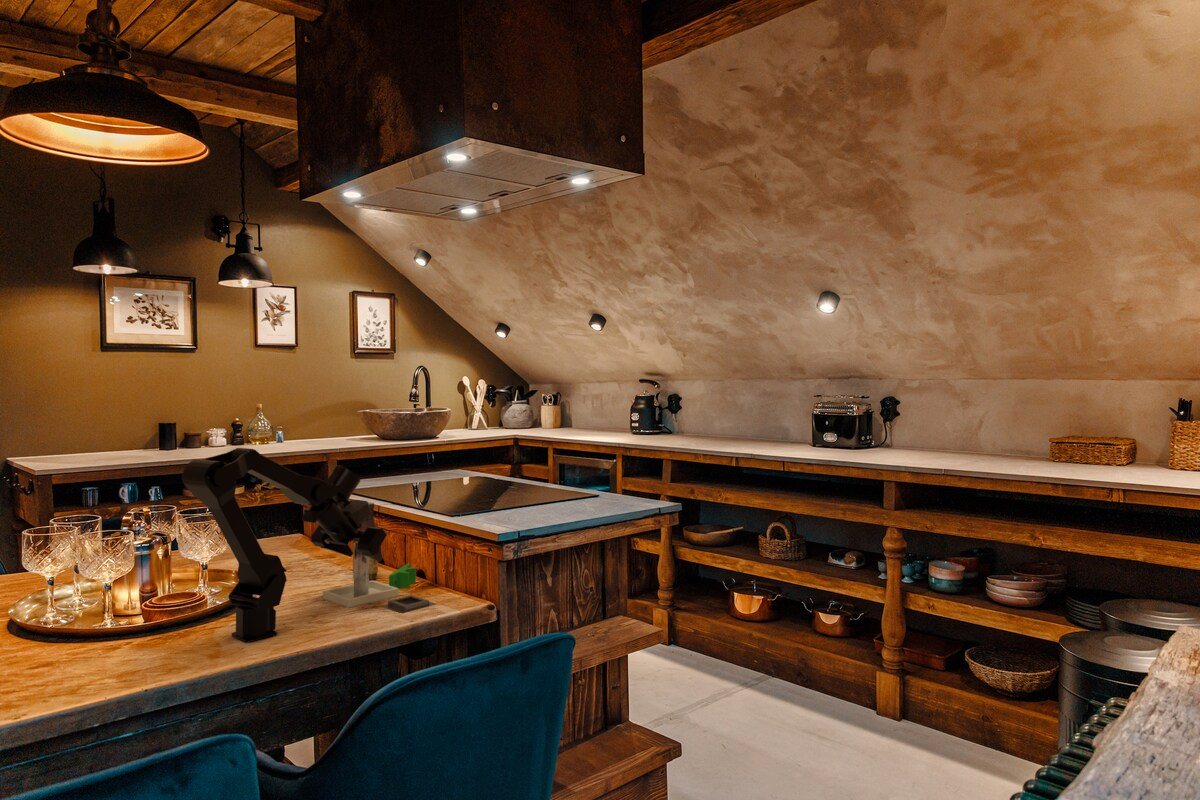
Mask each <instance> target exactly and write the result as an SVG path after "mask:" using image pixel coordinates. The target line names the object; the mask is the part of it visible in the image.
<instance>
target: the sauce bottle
mask: <svg viewBox="0 0 1200 800" xmlns="http://www.w3.org/2000/svg"><path fill="white" fill-rule="evenodd" d="M367 502H368V504H369V507H370V510H371V514H370V515H368V516H367V517H366V518H365V519H363V520H362V521H361V523H362V526H361V527H360V528H358V529H357V530H358V531H364V532H365V531H366V529H367V527H377V525H376V522H375V519H374V514H375V513H374V510H375V503H374V502H371V501H367ZM352 545H353V547H352V548H353V549H352V552H353V555H352V573H353V577H352V578H353V579H354V554H355V543H353V542H352ZM378 572H379V561H376V560H374V559H372V558H369V581H372V580H375V579H377V577H378Z"/></svg>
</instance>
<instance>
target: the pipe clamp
mask: <svg viewBox="0 0 1200 800" xmlns="http://www.w3.org/2000/svg"><path fill="white" fill-rule="evenodd" d="M411 566H412V565H411V564H407V563H406V564H404V565H403V566H401V567H399V568H398V569H397V570H395V571H394V572H392V573H390V574H389V576H388V585H389V586H392V587H396V588H399V589H409V588H410V585H416V581H417V580H416V579H417V568H416V567H411Z"/></svg>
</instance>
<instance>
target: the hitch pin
mask: <svg viewBox="0 0 1200 800" xmlns="http://www.w3.org/2000/svg"><path fill="white" fill-rule="evenodd" d="M353 543H355V554H354V573H353V575H354V578H353V585H354V598H355V597H360V596H364V595H368V594H369V557H367V556H364V555H362V553H361V552H360V551H359V550H358V549H357V543H358V541H352V544H353Z"/></svg>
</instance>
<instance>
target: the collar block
mask: <svg viewBox="0 0 1200 800" xmlns="http://www.w3.org/2000/svg"><path fill="white" fill-rule="evenodd" d="M436 605H437V603H435V602H431V601H430V600H428V599H425V598H423V597H419V596H416V595H413V594H411V595H407V596H403V597H402V596H401V597H398V598H393V599H390V600H388V601H387V604H383V605H380V606H379V607H381V608H383V609H387V610H389V611H392V612H396V613H397V612H398V613H397V614H400V613H402V614H405V613H408V612H409V613H410V612H413V611H417V610H421V609H425V608H428V607H432V606H436Z"/></svg>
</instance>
